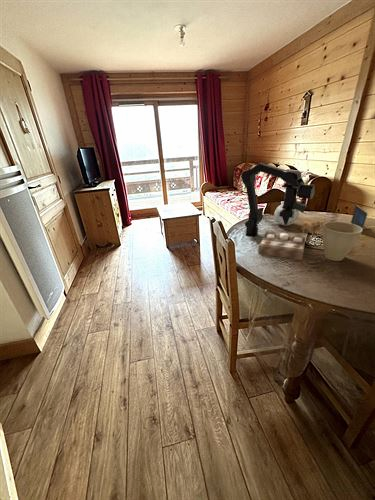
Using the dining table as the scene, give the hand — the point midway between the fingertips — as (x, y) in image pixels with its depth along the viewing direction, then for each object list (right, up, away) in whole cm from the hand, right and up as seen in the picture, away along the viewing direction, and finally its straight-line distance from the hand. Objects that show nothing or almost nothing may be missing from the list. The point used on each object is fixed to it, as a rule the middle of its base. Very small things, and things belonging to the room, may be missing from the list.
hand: (285, 224), depth 120 cm
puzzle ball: (+13, +3, +29) cm, 31 cm away
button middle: (-1, -9, 0) cm, 9 cm away
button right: (+5, -11, -3) cm, 13 cm away
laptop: (+44, -1, +16) cm, 47 cm away
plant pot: (+17, -18, -15) cm, 29 cm away
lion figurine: (+21, -4, +13) cm, 25 cm away
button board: (-3, -13, -1) cm, 13 cm away
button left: (-7, -9, +4) cm, 12 cm away
